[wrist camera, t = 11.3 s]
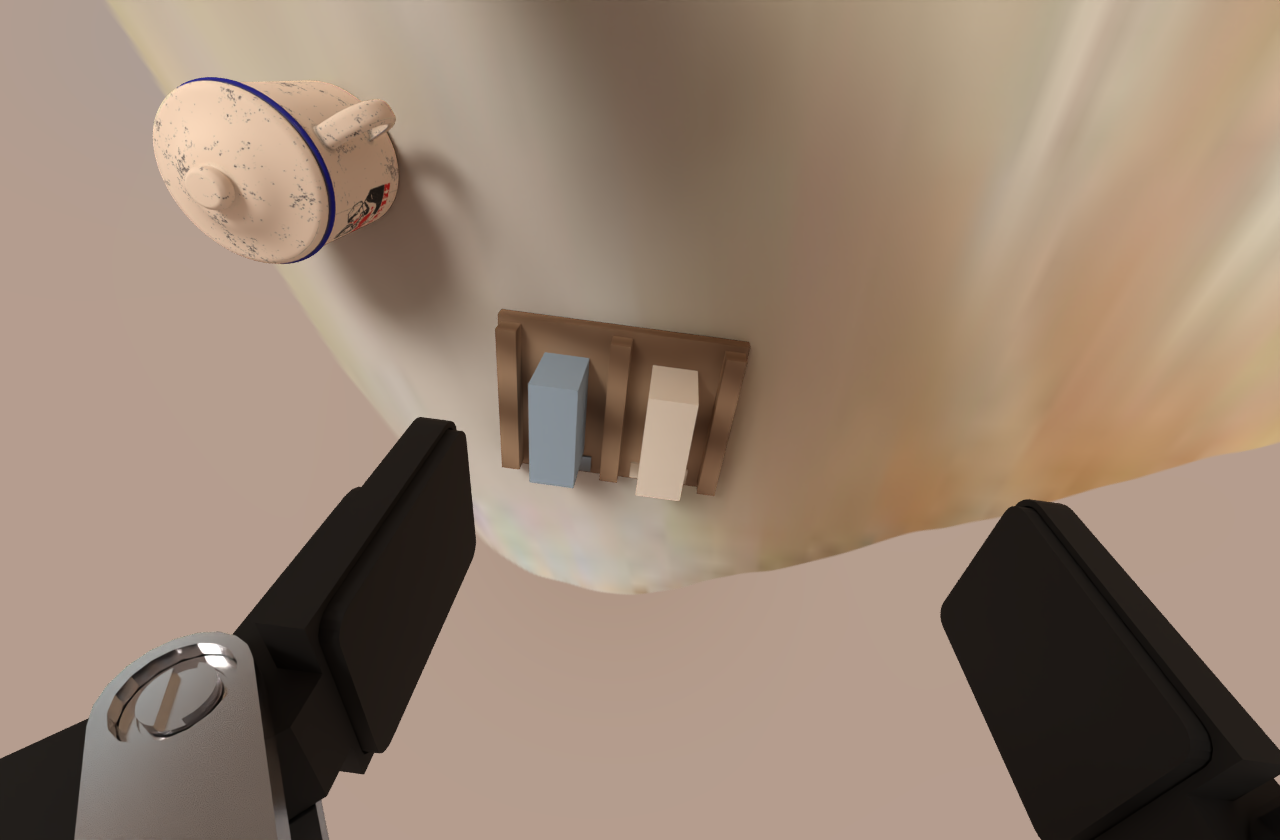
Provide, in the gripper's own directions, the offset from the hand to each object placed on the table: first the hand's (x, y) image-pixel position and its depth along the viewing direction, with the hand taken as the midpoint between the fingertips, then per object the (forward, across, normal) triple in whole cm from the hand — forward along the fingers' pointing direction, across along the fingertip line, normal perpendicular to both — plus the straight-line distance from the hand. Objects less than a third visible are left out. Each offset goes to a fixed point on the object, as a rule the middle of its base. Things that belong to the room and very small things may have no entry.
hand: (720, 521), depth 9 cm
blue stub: (+29, +8, +17) cm, 35 cm away
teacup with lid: (+31, +23, 0) cm, 38 cm away
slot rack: (+30, +4, +17) cm, 35 cm away
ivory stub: (+29, 0, +17) cm, 34 cm away
